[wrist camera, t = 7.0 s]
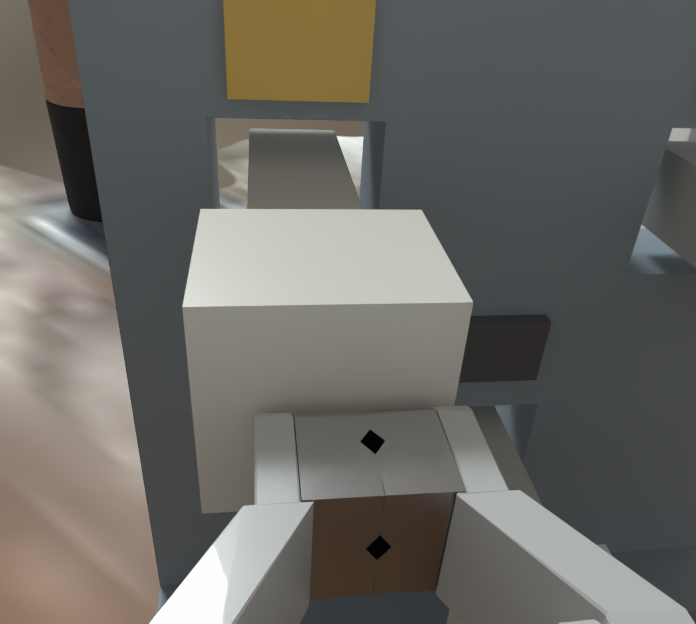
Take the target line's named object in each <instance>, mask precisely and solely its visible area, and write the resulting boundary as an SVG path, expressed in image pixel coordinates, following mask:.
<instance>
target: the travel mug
mask: <svg viewBox="0 0 696 624" xmlns="http://www.w3.org/2000/svg"><path fill="white" fill-rule="evenodd" d="M28 5H29V10H30V16H31V21H32V27H33V32H34V38H35V44H36V49H37V55H38V61H39V66H40V72H41V78H42V83H43V89H44V94H45V98H46V104H47V109H48V113H49V118H50V122H51V126H52V131H53V136H54V140H55V145H56V149H57V153H58V158H59V162H60V167H61V171H62V176H63V181H64V185H65V190H66V194H67V198H68V202H69V206H70V209H71V211H72V212H73V213H74V214H75V215H77V216H79V217H81V218H85V219H89V220H95V221H102V215H101V208H100V202H99V196H98V189H97V183H96V177H95V170H94V164H93V158H92V151H91V145H90V139H89V132H88V126H87V120H86V114H85V107H84V101H83V95H82V88H81V82H80V76H79V69H78V63H77V57H76V50H75V44H74V38H73V31H72V25H71V19H70V12H69V6H68V0H28Z"/></svg>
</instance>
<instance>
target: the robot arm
mask: <svg viewBox="0 0 696 624" xmlns="http://www.w3.org/2000/svg"><path fill="white" fill-rule="evenodd" d="M254 465H255V505H246V506H242V508H241V509H240V510H239V511H238V513H237V514H236V515H235V516H234V518H233V519H232V520H231V522H230V523H229V524H228V525H227V527H226V528H225V529H224V530H223V532H222V533H221V534H220V535H219V537H218V538H217V539H216V540H215V542H214V543H213V544H212V545H211V547H210V548H209V549H208V550H207V552H206V553H205V554H204V555H203V557H202V558H201V559H200V560H199V562H198V563H197V564H196V565H195V567H194V568H193V569H192V570H191V572H190V573H189V574H188V575H187V577H186V578H185V579H184V580H183V582H182V583H181V584H180V585H179V587H178V588H177V589H176V590H175V592H174V593H173V594H172V595H171V597H170V598H169V599H168V600H167V602H166V603H165V604H164V605H163V607H162V608H161V609H160V610H159V612H158V613H157V614H156V615H155V617H154V618H153V619H152V620H151V622H150V623H149V624H300V622H301V620H302V618H303V616H304V614H305V612H306V610H307V608H308V606H309V601H310V600H320V599H329V598H338V597H348V596H357V595H366V594H372V593H373V594H380V593H400V592H420V591H436V595H437V596H438V597H439V598H440V599H441V601H442V602H443V603H444V604H445V605H446V606H447V607H448V609H449V610H450V611H451V612H452V613H453V614H454V615H455V617H456V618H457V619H458V620H459V621H460V622H461V623H462V624H695V623H694V621H693V619H692V618H691V616H690V615H689V613H688V611H687V610H686V609H685V608H684V607H682V606H681V605H680V604H678V603H677V602H675V601H674V600H673V599H671V598H670V597H668V596H667V595H666V594H664V593H663V592H661V591H660V590H659V589H657V588H656V587H655V586H653V585H652V584H650V583H649V582H648V581H646V580H645V579H643V578H642V577H641V576H639V575H638V574H636V573H635V572H634V571H632V570H631V569H629V568H628V567H627V566H625V565H624V564H622V563H621V562H620V561H618V560H617V559H616V558H614V557H613V556H611V555H610V554H609V553H607V552H606V551H604V550H603V549H602V548H600V547H599V546H597V545H596V544H595V543H593V542H592V541H590V540H589V539H588V538H586V537H585V536H583V535H582V534H581V533H579V532H578V531H576V530H575V529H574V528H572V527H571V526H570V525H568V524H567V523H565V522H564V521H563V520H561V519H560V518H558V517H557V516H556V515H554V514H553V513H551V512H550V511H549V510H547V509H546V508H544V507H543V506H542V505H540V504H539V503H537V502H536V501H535V500H533V499H532V498H530V497H529V496H528V495H526V494H525V493H524V492H522V491H521V490H509V489H508V487H507V484H506V482H505V480H504V478H503V476H502V474H501V471H500V469H499V467H498V465H497V463H496V461H495V458H494V456H493V454H492V452H491V450H490V448H489V445H488V443H487V441H486V439H485V437H484V435H483V432H482V430H481V428H480V426H479V424H478V422H477V419H476V417H475V415H474V413H473V411H472V409H471V408H469V407H468V406H467V405H463V406H446V407H433V408H432V409H431V408H423V409H400V410H377V411H328V412H293V415H292V413H256V414H255V419H254Z"/></svg>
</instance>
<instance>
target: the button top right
mask: <svg viewBox="0 0 696 624" xmlns="http://www.w3.org/2000/svg"><path fill="white" fill-rule="evenodd" d="M641 225H643V226H644V227H645V228H646V229H648V230H649V231H650V232H651V233H653V234H654V235H655V236H656V237H658V238H659V239H660V240H661V241H663V242H664V243H665V244H666V245H667V246H669V247H670V248H671V249H672V250H674V251H675V252H676V253H677V254H679V255H680V256H681V257H682V258H684V259H685V260H686V261H687V262H689V263H690V264H691V265H692V266H693V267H695V268H696V142H691V141H668V143H667V146H666V150H665V153H664V156H663V159H662V162H661V165H660V168H659V171H658V175H657V178H656V181H655V184H654V187H653V190H652V193H651V196H650V199H649V203H648V206H647V209H646V212H645V215H644V218H643V221H642V224H641Z"/></svg>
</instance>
